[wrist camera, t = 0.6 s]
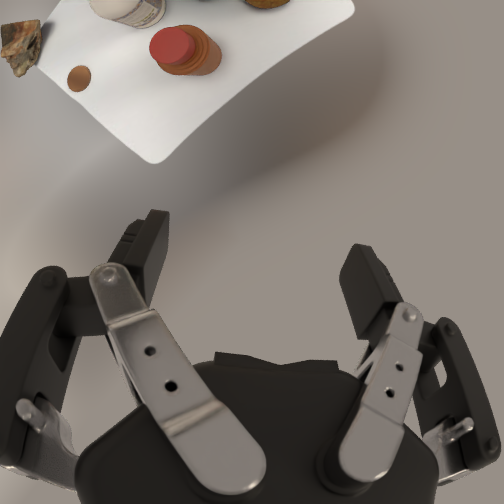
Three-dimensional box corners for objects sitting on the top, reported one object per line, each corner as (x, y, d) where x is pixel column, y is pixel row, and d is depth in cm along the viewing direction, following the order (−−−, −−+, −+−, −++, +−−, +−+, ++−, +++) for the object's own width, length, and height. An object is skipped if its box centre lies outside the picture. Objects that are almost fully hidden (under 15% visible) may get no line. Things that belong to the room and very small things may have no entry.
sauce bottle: (185, 37, 35) (146, 16, 19) (225, 41, 35) (209, 19, 20) (178, 73, 38) (134, 73, 23) (217, 77, 39) (195, 78, 23)
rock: (51, 19, 25) (1, 22, 18) (36, 83, 33) (-12, 89, 25) (44, 19, 30) (3, 22, 22) (31, 72, 37) (-9, 77, 30)
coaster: (70, 66, 35) (68, 66, 34) (92, 64, 36) (90, 65, 35) (67, 92, 38) (66, 92, 37) (89, 91, 38) (87, 91, 38)
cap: (163, 30, 22) (153, 25, 19) (199, 32, 23) (193, 27, 20) (156, 63, 24) (146, 62, 22) (191, 66, 25) (184, 65, 22)
